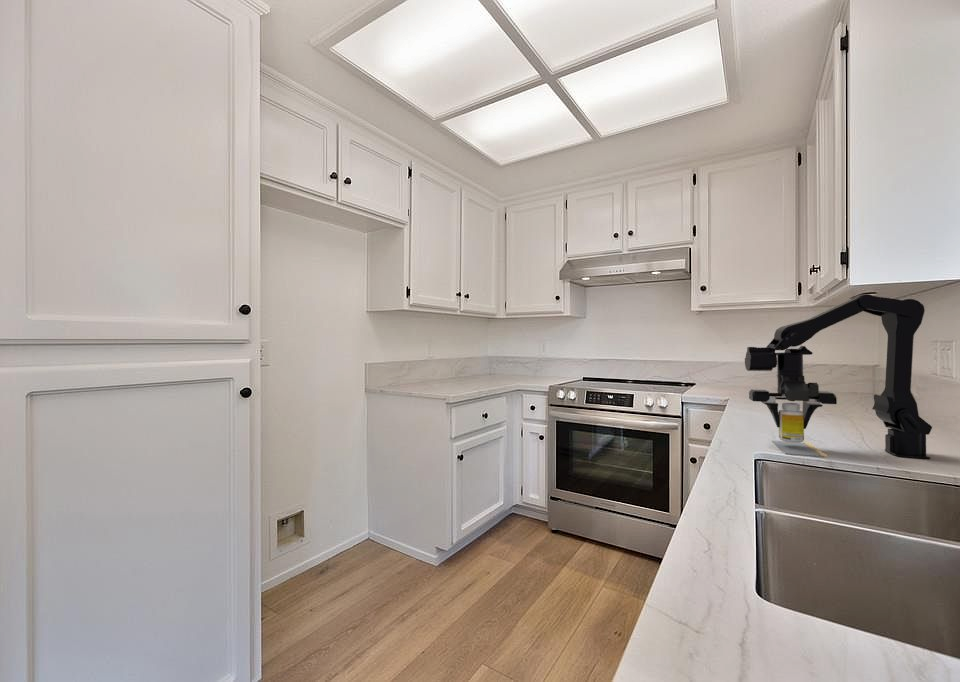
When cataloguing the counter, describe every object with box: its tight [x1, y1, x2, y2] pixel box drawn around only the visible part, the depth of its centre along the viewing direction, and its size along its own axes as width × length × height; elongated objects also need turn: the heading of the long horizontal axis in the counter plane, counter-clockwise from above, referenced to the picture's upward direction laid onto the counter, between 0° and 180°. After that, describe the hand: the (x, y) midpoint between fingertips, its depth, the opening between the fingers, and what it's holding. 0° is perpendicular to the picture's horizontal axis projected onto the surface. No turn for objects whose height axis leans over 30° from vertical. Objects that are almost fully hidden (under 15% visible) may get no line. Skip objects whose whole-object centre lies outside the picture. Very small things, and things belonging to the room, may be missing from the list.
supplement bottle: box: [778, 402, 805, 443], centre depth 115 cm, size 6×6×10 cm
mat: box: [771, 440, 829, 458], centre depth 114 cm, size 9×15×1 cm, turn 157°
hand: (791, 427), depth 115 cm, fingers closed on supplement bottle, 6 cm apart
